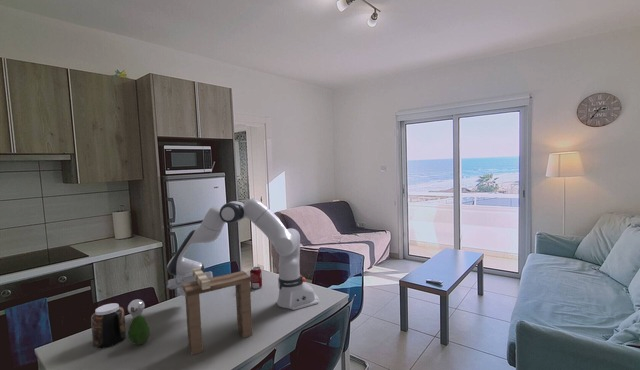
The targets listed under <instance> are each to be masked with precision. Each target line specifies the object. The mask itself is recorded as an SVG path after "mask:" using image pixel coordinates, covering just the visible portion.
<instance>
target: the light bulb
mask: <svg viewBox="0 0 640 370" xmlns="http://www.w3.org/2000/svg"><path fill="white" fill-rule="evenodd" d="M145 307H146V305H145V302H144V301H143V300H142V299H138V298H137V299H133V300H132V301H130V302H129V303H128V305H127V311H128V313H129V314H130V316H131V318H132V320H133V319H134V318H135V317H136V316H138V315H141V316H142V315H143V312H144V310H145Z"/></svg>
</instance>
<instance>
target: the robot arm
mask: <svg viewBox="0 0 640 370" xmlns="http://www.w3.org/2000/svg"><path fill="white" fill-rule="evenodd" d="M245 218H246V219H248V220H249V221H251V222H252V223H253V225H255V226H256V227H257V228H258V229H259V230H260V231H261V232H262V233H263V234H264V235H265V236H266V238H267V239H268V240H269V241H270V243H271V244H272V245H273V247H274V250H275V251H276V253H277V254H278V255H279V257H278V258H279V259H278V278H277V280H278V282H277V283H278V284H277V286H278V297H277V302H276V305H277V306H278V307H280V308H283V309H289V310H293V311H294V310H300V309H302V308H305V307H310V306H314V305H317V304H319V303H320V299H319V296H318V295H317V294H316V293H315V290H314V289H313V286H311V285H309V284H308V283H306V281H307V280H306V278H305V277H304V276H303V275H302V274H301V273H300V271H301V270H300V258H301V256H300V254H301V235H300V232H299V231H298V230H297V229H296V228H286V226H285V225H284V223H282V221H281V219H280V217H278V216H277V215H276V214H275V213H274V212H273V211H272V210H271V209H270V208H269V207H267V206H266V205H265V204H264V203H263V202H261V201H260V200H258V199H256V198H250V199H248V200H246V201H245V202H244V201H242V200H235V201H234V200H233V201H229V202H226V203H224V204H223V205H222V206H221V207H220V206H212V207H210V208H209V209H208V211H207V212H206V213H205V215H204V217H203V220H202V221H201V223H200V225H199V227H197V229H194V230H193V229H192V230H191V231H190V232H189V233H188V235H187V236H186V237H185V239H184V241H182V243H181V244H180V246H179V248H178V250H176V253H175V254H174V255H173V257H171V259H169V262H168V263H167V266H166V270H167V273H168V274H169V275H172V276H176V277H175V278H170V279H168V280H167V285H166V288H168V289H169V290H174V289H176V290H177V293H178V294H179V295H180V296H182V297H185V292H184V290H183V285H182V284H184V283H189V282H194V281H196V280H195V278H194V277H193V273H192V269H194V268H200V269H201V270H202V272H203V273H204V274H205V275H206V276H207V278H212V277H214V276H213V272H212V271H205V266H204V263H203V262H200V261H196V260H193V259H190V258H187V257H184V255H185V254H186V252H187V251H188V250H189V249H190V247H191V246H192V245H195V244H206V243H207V244H208V243H212V242H214V241H216V240H217V239H218V238H219V236H220V235H221V233H222V230H223V227H224V226H225V224H226V223H227V224H234V223H238V222H241V220H243V219H245ZM177 276H178V277H177Z"/></svg>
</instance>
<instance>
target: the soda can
mask: <svg viewBox="0 0 640 370" xmlns="http://www.w3.org/2000/svg"><path fill="white" fill-rule="evenodd" d="M262 274H263V273H262V269H261V267H260V266H253V267H251V268H250V272H249V276H250V277H251V282H250V289H252V290H258V289H260V288H262V287H263V277H262Z"/></svg>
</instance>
